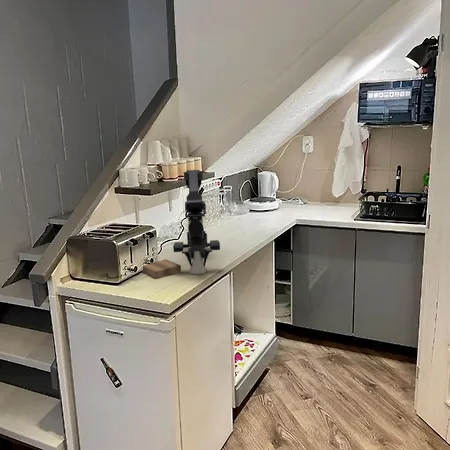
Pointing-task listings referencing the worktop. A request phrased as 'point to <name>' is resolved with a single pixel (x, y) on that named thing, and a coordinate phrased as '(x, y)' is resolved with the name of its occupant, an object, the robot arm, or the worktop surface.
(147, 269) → the walnut plinth
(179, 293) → the worktop surface
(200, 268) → the flask
